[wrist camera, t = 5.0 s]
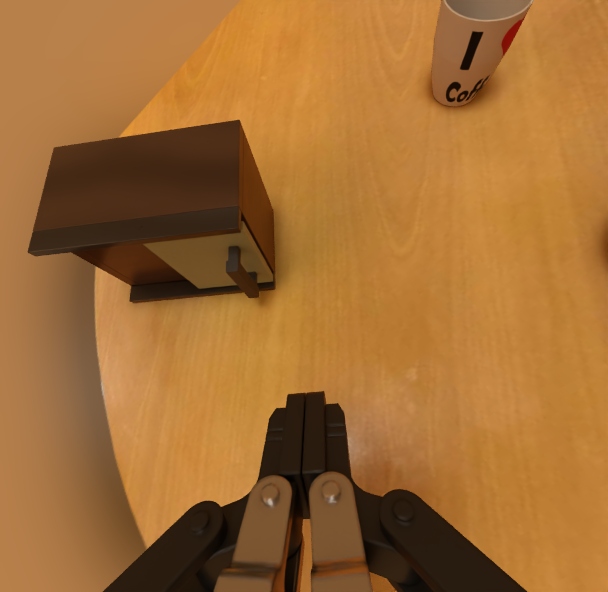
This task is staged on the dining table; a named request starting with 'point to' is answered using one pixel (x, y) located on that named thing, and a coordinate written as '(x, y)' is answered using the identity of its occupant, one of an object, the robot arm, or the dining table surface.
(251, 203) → the cabinet
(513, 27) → the cup
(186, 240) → the door
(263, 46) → the dining table surface
